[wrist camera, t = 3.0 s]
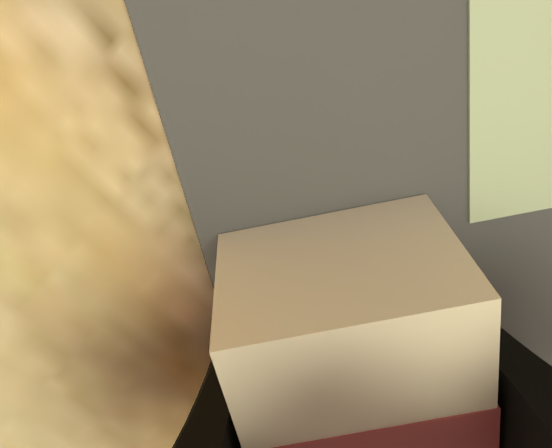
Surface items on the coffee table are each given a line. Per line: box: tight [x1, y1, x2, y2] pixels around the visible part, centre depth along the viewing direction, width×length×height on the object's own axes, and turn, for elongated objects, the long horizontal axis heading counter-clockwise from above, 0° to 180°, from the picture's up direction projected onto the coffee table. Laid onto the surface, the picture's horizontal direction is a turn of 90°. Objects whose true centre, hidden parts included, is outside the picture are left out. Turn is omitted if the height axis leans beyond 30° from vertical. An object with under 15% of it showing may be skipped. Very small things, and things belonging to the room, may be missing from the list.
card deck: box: [209, 194, 501, 448], centre depth 12 cm, size 7×5×4 cm
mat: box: [124, 0, 552, 366], centre depth 12 cm, size 20×16×1 cm
